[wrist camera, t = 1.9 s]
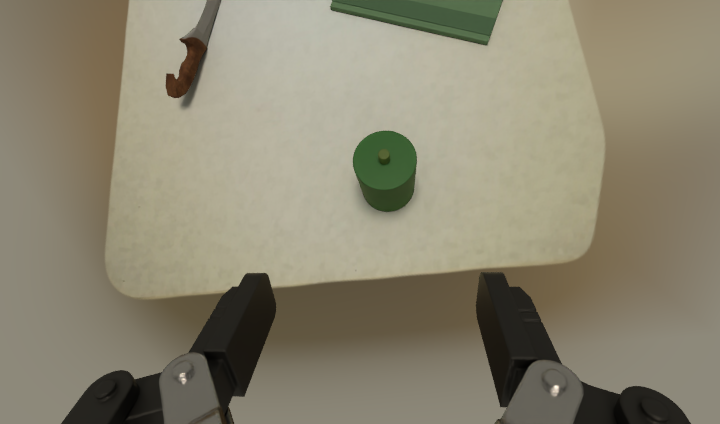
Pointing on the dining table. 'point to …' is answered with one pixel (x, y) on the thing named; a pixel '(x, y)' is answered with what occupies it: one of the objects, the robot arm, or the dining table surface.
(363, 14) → the towel
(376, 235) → the dining table surface
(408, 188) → the green knobbed canister
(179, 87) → the knife
